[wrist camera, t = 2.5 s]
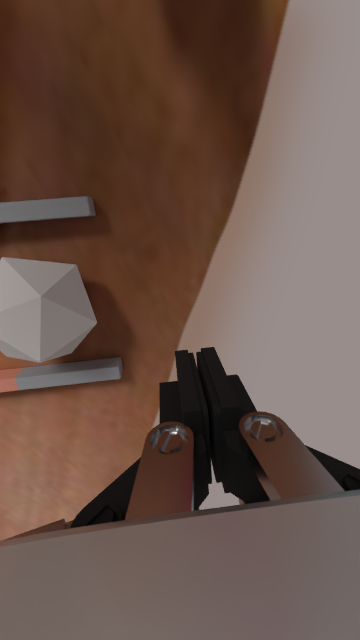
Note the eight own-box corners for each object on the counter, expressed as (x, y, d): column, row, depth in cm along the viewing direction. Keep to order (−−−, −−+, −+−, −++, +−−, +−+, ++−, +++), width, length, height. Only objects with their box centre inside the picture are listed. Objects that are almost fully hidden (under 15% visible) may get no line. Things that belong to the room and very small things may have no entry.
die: (84, 239, 24) (-44, 228, 16) (134, 314, 23) (20, 343, 15) (51, 293, 29) (-64, 306, 21) (91, 359, 27) (-16, 401, 19)
